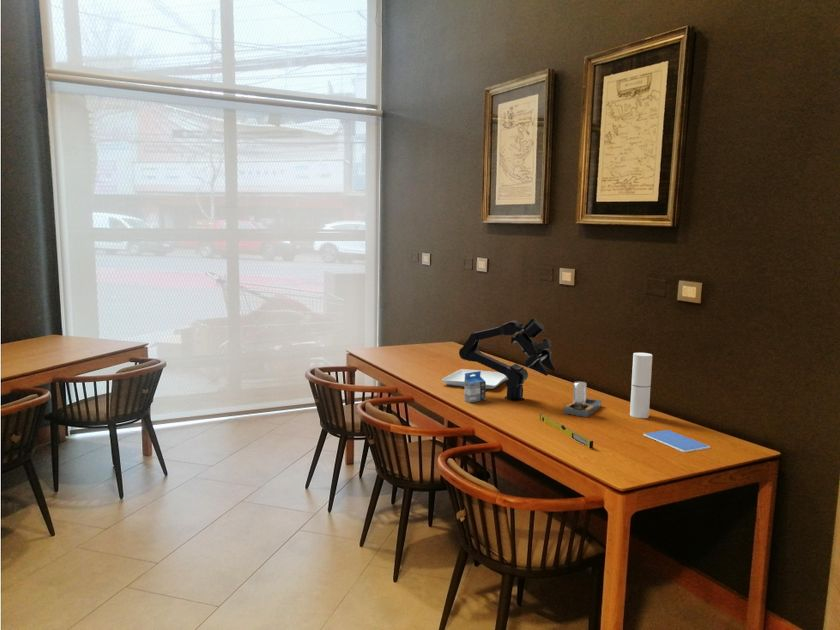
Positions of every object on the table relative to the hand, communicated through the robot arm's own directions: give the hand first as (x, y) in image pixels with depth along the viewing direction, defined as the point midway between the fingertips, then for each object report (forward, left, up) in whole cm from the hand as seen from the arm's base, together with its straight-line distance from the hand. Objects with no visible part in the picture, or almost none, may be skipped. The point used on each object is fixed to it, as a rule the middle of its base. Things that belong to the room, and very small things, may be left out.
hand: (551, 373), depth 262 cm
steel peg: (+2, -15, -13) cm, 20 cm away
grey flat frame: (+6, -13, -14) cm, 20 cm away
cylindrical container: (+20, -30, -14) cm, 39 cm away
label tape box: (-25, +20, -14) cm, 35 cm away
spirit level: (-22, -32, -14) cm, 41 cm away
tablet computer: (+6, -58, -14) cm, 60 cm away
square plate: (-5, +46, -14) cm, 49 cm away
